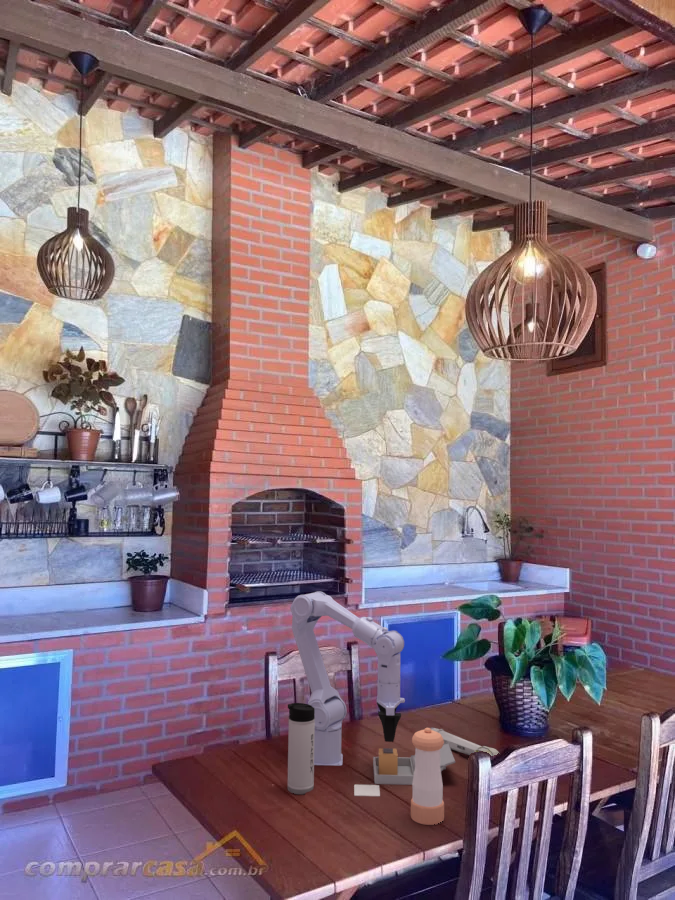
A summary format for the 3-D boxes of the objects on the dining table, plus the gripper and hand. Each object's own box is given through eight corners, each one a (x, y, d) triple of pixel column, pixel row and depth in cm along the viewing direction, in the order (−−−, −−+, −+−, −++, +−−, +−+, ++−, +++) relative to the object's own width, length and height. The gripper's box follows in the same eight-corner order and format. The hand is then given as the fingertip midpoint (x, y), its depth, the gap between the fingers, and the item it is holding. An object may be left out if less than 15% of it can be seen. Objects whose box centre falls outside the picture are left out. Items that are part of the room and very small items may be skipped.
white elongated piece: (436, 742, 202) (506, 767, 182) (420, 747, 198) (490, 773, 178) (436, 723, 202) (506, 746, 183) (420, 728, 198) (489, 752, 178)
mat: (354, 797, 163) (354, 795, 163) (354, 787, 169) (354, 784, 169) (380, 798, 163) (380, 795, 163) (379, 787, 169) (379, 785, 169)
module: (379, 777, 173) (379, 753, 174) (378, 770, 178) (378, 746, 178) (397, 778, 173) (397, 753, 174) (396, 770, 178) (396, 747, 178)
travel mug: (282, 786, 169) (284, 701, 170) (308, 782, 171) (310, 699, 172) (290, 796, 163) (292, 709, 164) (317, 792, 165) (318, 706, 166)
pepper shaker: (403, 816, 153) (404, 727, 155) (424, 806, 159) (425, 720, 160) (430, 828, 148) (430, 736, 149) (450, 817, 153) (451, 728, 155)
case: (374, 787, 169) (375, 760, 169) (373, 766, 182) (373, 741, 182) (455, 788, 168) (456, 762, 169) (448, 768, 181) (448, 743, 182)
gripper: (407, 689, 170) (406, 746, 169) (402, 674, 184) (402, 726, 183) (378, 688, 170) (377, 745, 169) (375, 673, 184) (375, 726, 183)
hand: (388, 735), depth 176 cm, fingers open, 7 cm apart
